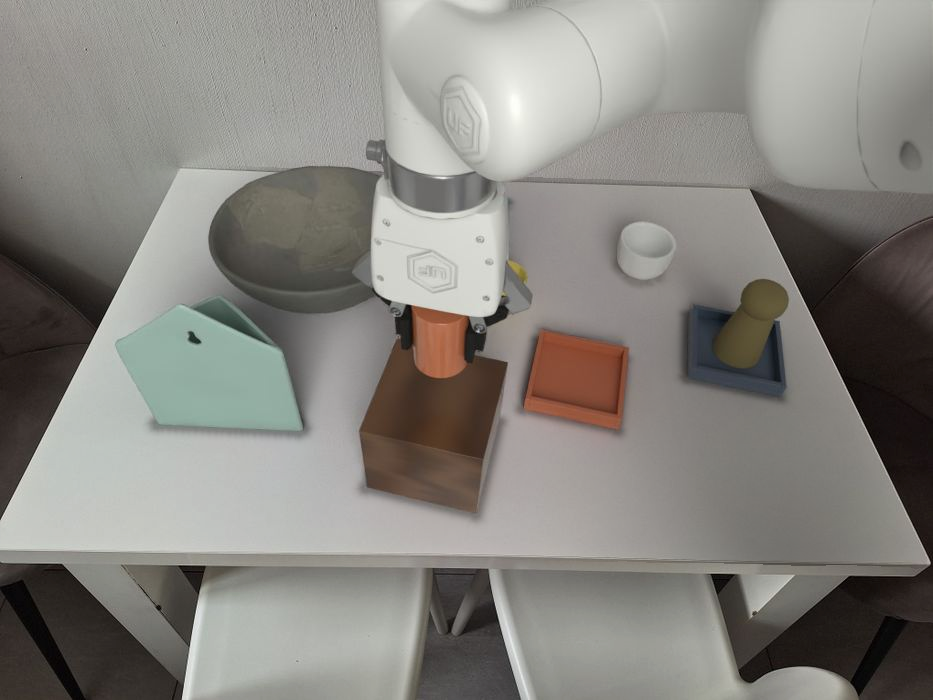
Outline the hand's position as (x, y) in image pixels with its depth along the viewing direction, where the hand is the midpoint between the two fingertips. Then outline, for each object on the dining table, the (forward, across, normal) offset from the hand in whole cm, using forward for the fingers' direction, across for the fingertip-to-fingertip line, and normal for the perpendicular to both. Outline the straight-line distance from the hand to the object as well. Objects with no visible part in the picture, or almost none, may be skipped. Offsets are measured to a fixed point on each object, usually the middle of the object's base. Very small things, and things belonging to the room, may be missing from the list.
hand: (441, 343), depth 58 cm
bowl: (+19, -23, +23) cm, 38 cm away
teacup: (+19, +19, +38) cm, 47 cm away
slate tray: (+19, +32, +24) cm, 45 cm away
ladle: (+19, -1, +34) cm, 39 cm away
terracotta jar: (+2, 0, 0) cm, 2 cm away
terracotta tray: (+19, +13, +14) cm, 28 cm away
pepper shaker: (+19, +33, +25) cm, 45 cm away
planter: (+19, -25, +1) cm, 31 cm away
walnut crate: (+19, -1, 0) cm, 19 cm away
